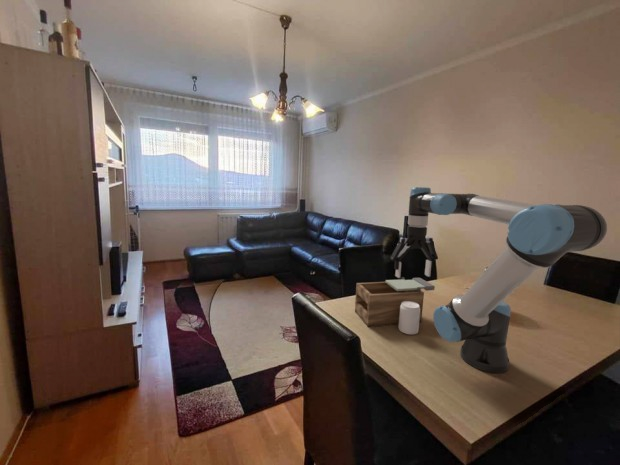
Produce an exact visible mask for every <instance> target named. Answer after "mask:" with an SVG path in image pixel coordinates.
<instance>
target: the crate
mask: <svg viewBox="0 0 620 465" xmlns="http://www.w3.org/2000/svg"><path fill="white" fill-rule="evenodd" d="M401 279H404V280H406V279H405V277H403V276H402V277H401ZM355 286H356V287H355V302H354V303H355V304H354V312H355V314H357V316H358V317H359V318H360V320H361V321H363V323H364V325H366V327H367V328H370V327H371V328H373V327H382V326H383V327H384V326H396V325H398V326H399V315H400V305H401V304H402V302H404V301H411V302H415V303H417V304H419V307H420V319H419V324H420V323H422V320H423V319H422V318H423V310H424V309H423V307H424V306H423V305H424V296H425V292H424V291H422V289H421V288H420V287H417V290H408V291H397V290H395V289H394V288H392V287H391V286H390V285H388V284H387V283H386V282H385V281H373V282H370V281H369V282H356V285H355Z"/></svg>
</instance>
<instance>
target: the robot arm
mask: <svg viewBox="0 0 620 465" xmlns="http://www.w3.org/2000/svg"><path fill="white" fill-rule="evenodd" d="M429 214H435V215H439V216H450V215H457V214H458V215H466V216H470V217H475V218H480V219H483V220H484V219H485V220H488V221H492V222H497V223H501V224H505V225H508V226H507V229H508V232H507V237H506V238H505V244H506V248H504V249H503V251H502V252H501V253H500V254H499V255H498V256H497V257H496V259H495V260H494V261H493V262H492V263H490V265H489V266H488V267H487V268H486V269H485V271H484V272H483V273H482V274H481V275H480V276H479V277H478V278H477V279H476V280H475V282H474V283H473V284H472V285H471V286H470V287H469V288H468V289H467V290H466V292H465V293H463V294H456V295H455V296H454V297H453V298H452V299H451V300H450V302H449V303H448V304H446V305H440V306H437V307H436V308H435V309H434V311H433V323H434V327H435V329H436V331H437V333H438V334H439V336H440V337H441V338H442V339H443V340H445V341H447V342H449V343H459V342H461V341H463V344H462V345H461V346H460V353H459V355H460V357H461V359H462V360H463V361H464V362H465V363H466V364H468V365H470V366H472V367H474V368H475V369H477V370H480V371H483V372H488V373H492V374H502V373H506V372H507V371H508V370H509V368H510V358H509V356H508V351H507V350H508V349H507V339H508V332H509V326H510V319H511V316H512V315H511V310H512V309H511V307H510V305H509V304H508V303H507V302H505V300H506V299H507V298H508V297H509V296H510V295H511V294H512V293H513V292H514V291H516V289H517V288H519V287H520V286H521V285H522V284H523V283H524V282H525V281H526V280H527V279H528V278H530V276H532V275H533V274H534V273H536V271H537V270H538V269H540V268H541V269H549V268H551V267H552V266H554V264H555V263H556V262H557V261H559V260H560V258H562V257H563V256H564V255H565V254H567V253H571V252H583V251H587V250H590V249H592V248H594V247H596V246H598V245H599V244H600V243H601V242H602V241H603V240H604V238H605V236H606V235H607V231H608V224H607V221H606V219H605V217H604V216H603V215H602V213H601V212H599V211H598V210H597V209H594V208H593V207H590V206H588V205H587V206H586V205H582V204H581V205H580V204H558V203H557V204H552V203H551V204H550V203H545V204H543V203H542V204H533V203H528V202H519V201H515V200H507V199H502V198H495V197H488V196H484V195H483V196H482V195H480V194H476V193H475V194H474V193H443V192H442V193H439V192H437V193H436V192H431V188H430V187H423V186H421V187H419V186H418V187H416V186H413V187H412V188H410V194H409V202H408V219H407V224H408V225H407V229H406V237H402V236H401V237H398V238H399V239H398V242H397V245H396V247H395V248H394V250H393V252H392V254H391V255H390V257H389V258H390V260H391V261H394V268H393V269H395V274H394V276H395V277H396V278H397V279H401V272H402V260H403V259H404V257H405V256H406V255H407V253H409V251H411V250H416V249H419V250H421V251H422V253H423V254H424V256H425V257H426V259H425V265H424V266H425V268H424V275H425V276H426V277H429V278H430V277H431V273H432V272H431V271H432V269H433V264H434V262H436V260H438V259H439V257H438V254H437V253H438V252H437V251H436V248H435V246H434V238H433V237H430V236H427V234H428V233H427V232H428V225H429ZM426 236H427V237H426ZM425 243H426V244H425ZM426 245H427V246H426ZM427 247H428V248H427Z"/></svg>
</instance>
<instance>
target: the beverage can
mask: <svg viewBox="0 0 620 465" xmlns="http://www.w3.org/2000/svg"><path fill="white" fill-rule="evenodd" d="M419 319H420V307H419V304H417V303H415V302H411V301H404V302H402V304H401V305H400V315H399V325H398V330H399V331H400V332H401V333H403V334H405V335H416V334H418V333H419V328H420V323H419Z"/></svg>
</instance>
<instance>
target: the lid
mask: <svg viewBox="0 0 620 465" xmlns="http://www.w3.org/2000/svg"><path fill="white" fill-rule="evenodd" d="M384 282H386V283H387V284H388V285H390V286H391V287H392V288H394V289H395V290H397V291H408V290H417V287H420V288H421V290H425V291H426V292H427V291H434V290H435V288H436V287H435V285H434V284H432V283H430V282H428V281H426V280H424V279H423V278H421V277H412V279H405V280H404V279H402V278H400V279H385V281H384Z"/></svg>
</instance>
